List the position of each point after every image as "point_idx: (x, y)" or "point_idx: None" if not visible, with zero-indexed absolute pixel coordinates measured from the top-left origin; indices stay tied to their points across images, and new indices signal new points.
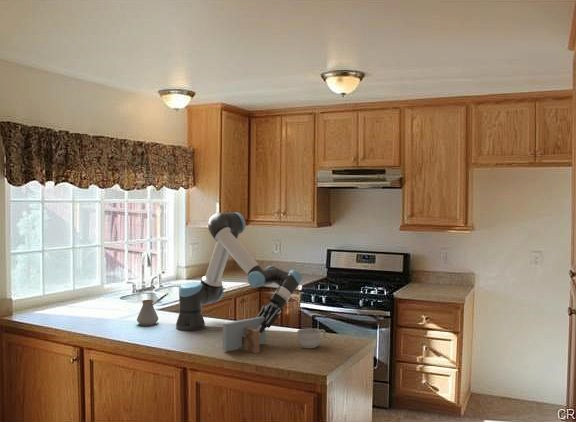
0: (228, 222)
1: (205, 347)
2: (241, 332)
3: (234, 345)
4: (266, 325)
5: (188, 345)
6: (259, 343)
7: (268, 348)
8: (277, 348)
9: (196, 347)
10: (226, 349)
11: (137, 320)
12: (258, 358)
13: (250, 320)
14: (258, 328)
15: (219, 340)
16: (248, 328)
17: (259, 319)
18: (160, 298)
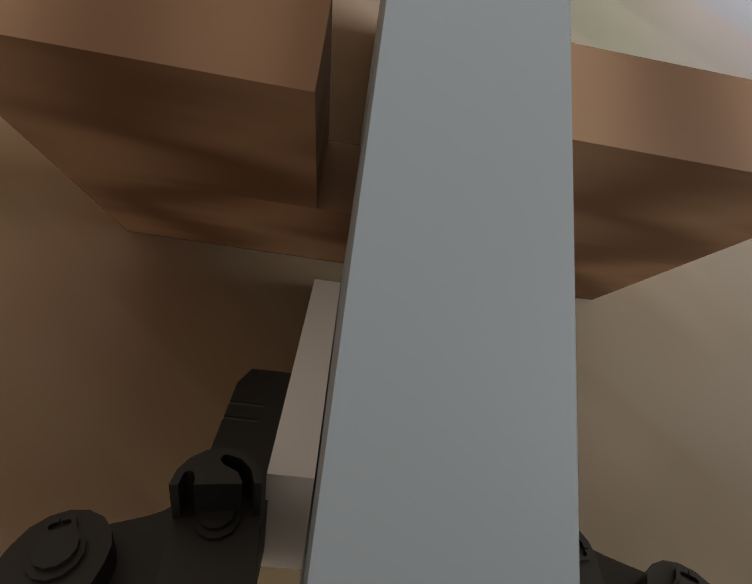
0: None
1: (616, 40)
2: (376, 39)
3: (370, 71)
4: (65, 532)
5: (737, 5)
6: (74, 182)
7: (145, 415)
8: (42, 505)
9: (656, 3)
10: (378, 13)
11: None
12: None
13: (381, 47)
14: (302, 384)
15: (747, 258)
16: None
17: (322, 465)
18: None
